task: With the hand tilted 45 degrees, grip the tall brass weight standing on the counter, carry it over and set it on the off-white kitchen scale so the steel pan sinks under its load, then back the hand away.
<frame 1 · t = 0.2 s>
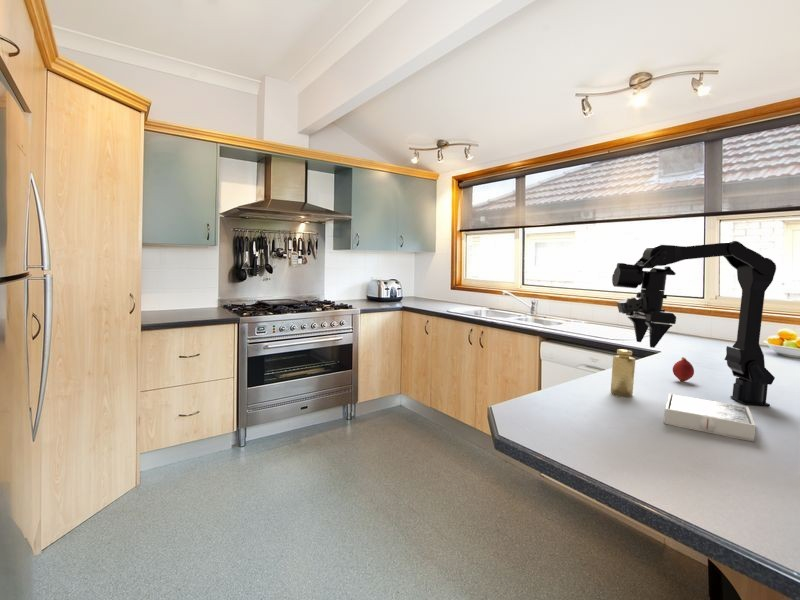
hand: (645, 344, 122), 14 cm above the countertop, tool pointing down, fingers open, 9 cm apart
weight: (621, 394, 122), on the countertop
scale: (706, 422, 100), on the countertop
pan: (707, 409, 100), point 3 cm above the countertop, slide at 0.5 cm
onion: (682, 382, 140), on the countertop
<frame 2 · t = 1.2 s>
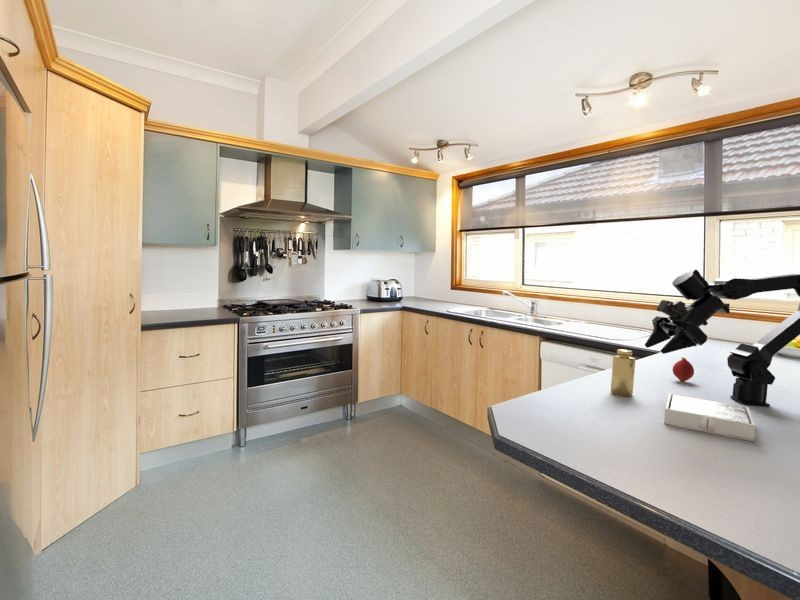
hand: (653, 349, 120), 13 cm above the countertop, tool tilted 45°, fingers open, 9 cm apart
nothing on the countertop moved.
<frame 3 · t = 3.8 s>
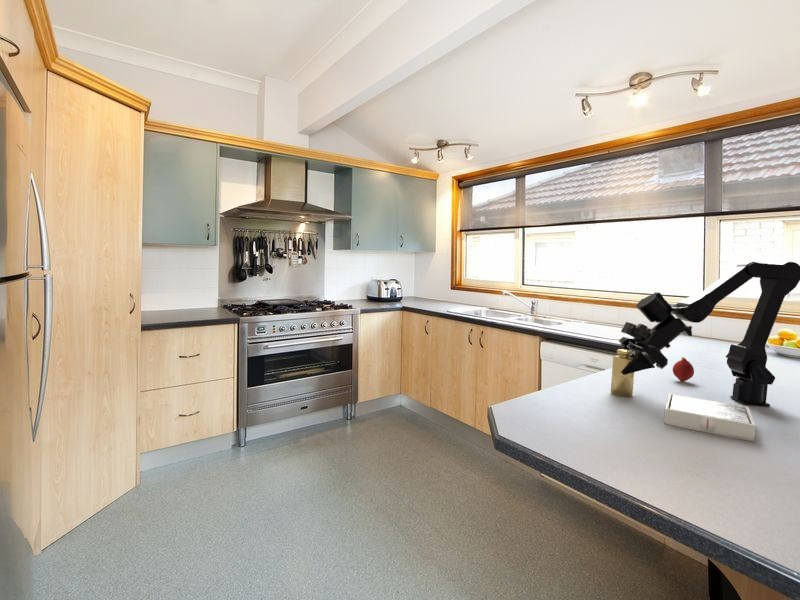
hand: (618, 370, 122), 7 cm above the countertop, tool tilted 45°, fingers closed on weight, 6 cm apart
weight: (621, 394, 122), on the countertop, touching gripper
everything else where it was.
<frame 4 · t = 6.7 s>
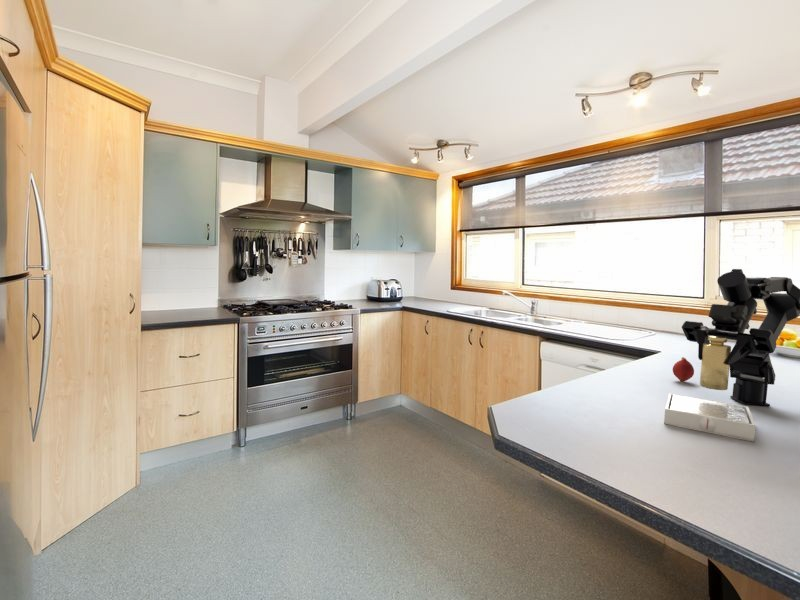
hand: (713, 361, 105), 13 cm above the countertop, tool tilted 45°, fingers closed on weight, 6 cm apart
weight: (713, 386, 106), point 7 cm above the countertop, touching gripper
everything else where it was.
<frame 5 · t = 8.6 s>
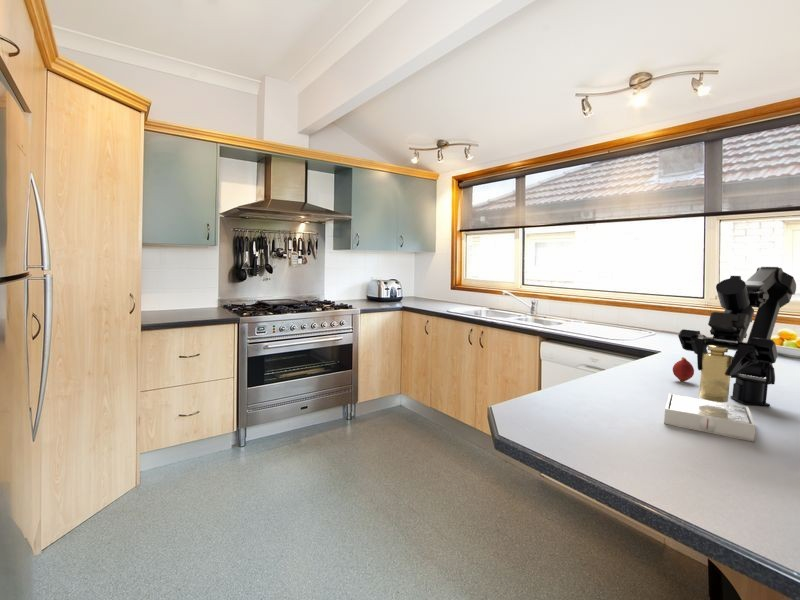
hand: (713, 372, 101), 12 cm above the countertop, tool tilted 45°, fingers closed on weight, 6 cm apart
weight: (713, 398, 102), point 5 cm above the countertop, touching gripper
everything else where it was.
when the fingers open (11 cm above the countertop, at t = 9.8 s): weight drops 2 cm, resting on pan.
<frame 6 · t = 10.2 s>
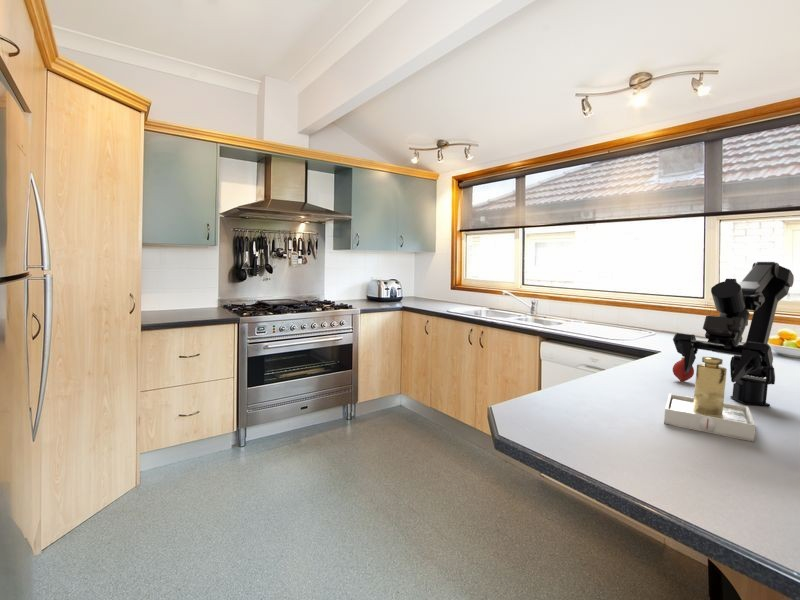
hand: (708, 376, 99), 11 cm above the countertop, tool tilted 45°, fingers open, 9 cm apart
weight: (707, 411, 100), point 3 cm above the countertop, touching pan
pan: (707, 412, 100), point 2 cm above the countertop, slide at 1.3 cm, touching weight
everything else where it was.
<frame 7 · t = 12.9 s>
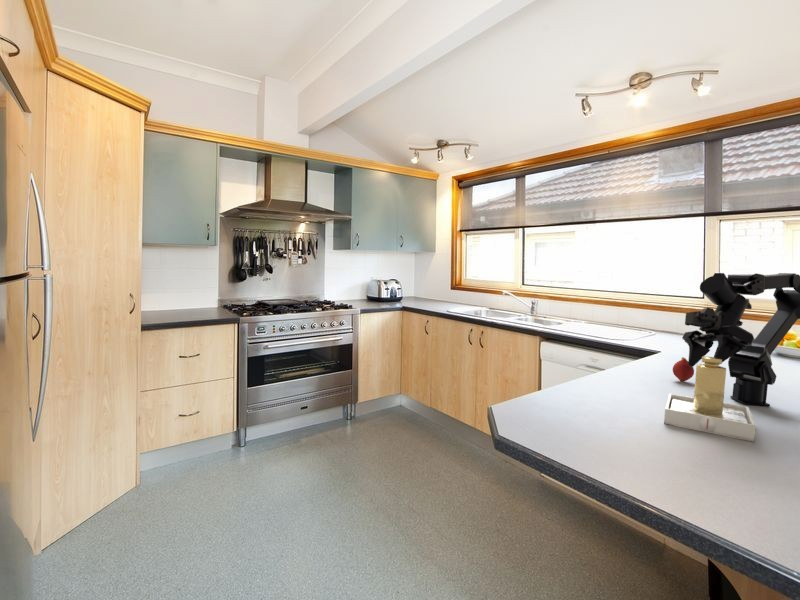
hand: (701, 365, 110), 11 cm above the countertop, tool tilted 30°, fingers open, 9 cm apart
nothing on the countertop moved.
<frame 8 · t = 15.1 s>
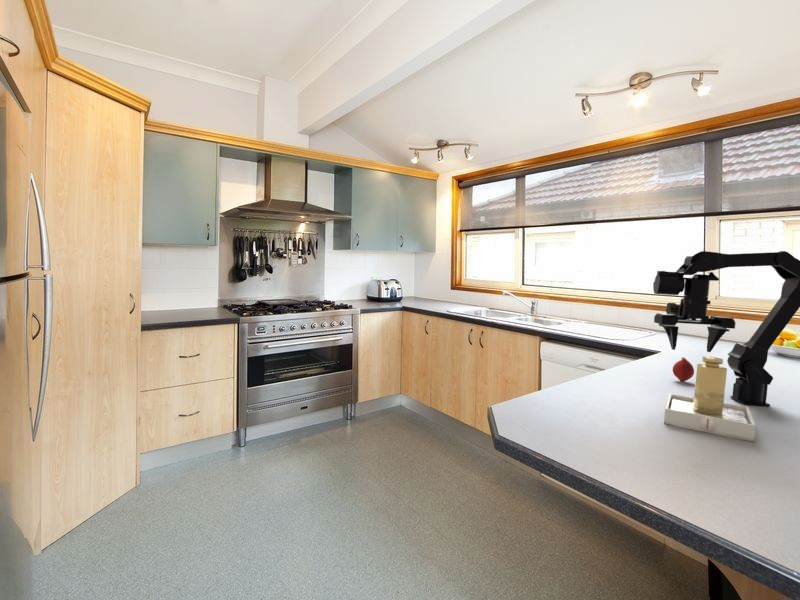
hand: (690, 350, 122), 13 cm above the countertop, tool pointing down, fingers open, 9 cm apart
nothing on the countertop moved.
at the end: weight inside the target area on the scale (0.1 cm from its centre), point 2.7 cm above the scale's base; weight tilted 1°; pan slide at 1.4 cm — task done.
